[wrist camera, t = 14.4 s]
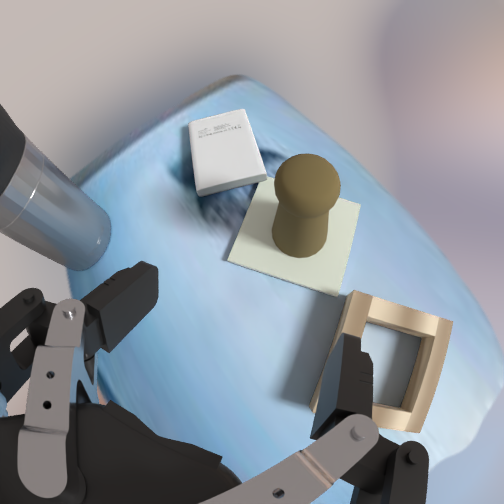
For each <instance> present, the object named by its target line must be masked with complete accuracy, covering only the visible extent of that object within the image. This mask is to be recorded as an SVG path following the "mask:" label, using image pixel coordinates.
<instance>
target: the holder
mask: <svg viewBox="0 0 504 504" xmlns="http://www.w3.org/2000/svg"><path fill="white" fill-rule="evenodd" d="M366 322H369V323H373V324H376V325H379V326H383V327H386V328H390V329H393V330H396V331H400V332H403V333H407V334H410V335H414V336H417V337H421V338H422V339H421V343H420V347H419V351H418V354H417V358H416V362H415V365H414V368H413V372H412V375H411V378H410V381H409V384H408V387H407V390H406V393H405V396H404V398H403V401H402V404H401V407H400V408H399V407H393V406H388V405H383V404H378V403H374V402H373V408H372V420H373V421H374V422H375V424H376V425H377V427H380V428H386V429H392V430H399V431H406V432H414V433H420V431H421V429H422V426H423V424H424V421H425V419H426V416H427V413H428V411H429V408H430V405H431V402H432V400H433V397H434V394H435V391H436V387H437V384H438V381H439V378H440V374H441V371H442V367H443V364H444V360H445V356H446V352H447V348H448V344H449V339H450V335H451V330H452V325H453V321H450V320H447V319H444V318H440V317H437V316H434V315H431V314H428V313H425V312H421V311H418V310H415V309H412V308H409V307H406V306H403V305H399V304H396V303H393V302H390V301H387V300H384V299H381V298H377V297H374V296H371V295H368V294H365V293H362V292H359V291H356V290H353V291H352V292H351V293H350V294H348V295H347V296H346V300H345V303H344V307H343V310H342V314H341V317H340V320H339V323H338V326H337V330H336V333H335V336H334V339H333V342H332V345H331V348H330V351H329V354H328V357H327V359H326V362H327V360H328V358H329V356H330V354H331V352H332V350H333V348H334V347H335V345H336V343H337V341H338V339H339V337H340V335H341V334H342V333H347V334H350V335H354V336H357V337H360V338H361V337H362V334H363V331H364V327H365V324H366ZM326 362H325V365H326ZM325 365H324V368H325ZM324 368H323V371H322V373H321V376H320V379H319V381H318V384H317V387H316V389H315V392H314V394H313V397H312V399H311V402H310V404H309V407H310V409H311V411H312V412H313V413H316V408H317V403H318V398H319V393H320V388H321V383H322V377H323V372H324Z"/></svg>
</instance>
